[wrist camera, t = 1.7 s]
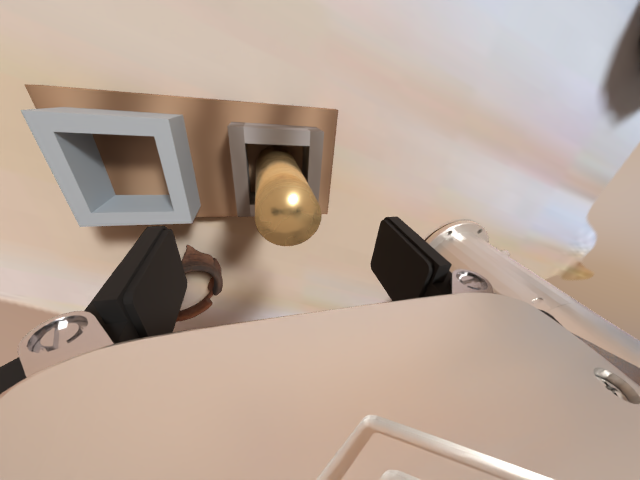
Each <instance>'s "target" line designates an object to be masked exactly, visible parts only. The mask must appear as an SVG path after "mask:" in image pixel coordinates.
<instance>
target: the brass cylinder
mask: <svg viewBox="0 0 640 480" xmlns="http://www.w3.org/2000/svg"><path fill="white" fill-rule="evenodd" d="M320 222H321V208H320V205H319V203H318V201H317V199H316V197H315V196H314V194H313V192H312V190H311V188H310V187H309V185H308V183H307V181H306V179H305V178H304V176H303V174H302V172H301V170H300V168H299V167H298V165H297V163H296V161H295V159H294V158H293V156H292V154H291V153H290V152H289V151H288V150H286V149H285V148H283V147H280V146H270V147H267V148H265V149H264V150H262V151H261V152H260V154H259V155H258V157H257V160H256V184H255V223H256V227H257V229H258V231H259V232H260V234H261V235H262V236H263V237H264V238H265V239H266V240H268V241H269V242H271V243H274V244H276V245H281V246H293V245H297V244H300V243H302V242H305V241H306V240H308V239H309V238H310V237H311V236H312V235H313V234H314V233H315V232H316V231H317V229H318V227H319V225H320Z"/></svg>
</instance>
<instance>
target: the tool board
mask: <svg viewBox="0 0 640 480" xmlns="http://www.w3.org/2000/svg"><path fill="white" fill-rule="evenodd" d="M25 86H26V89H27V91H28V93H29V95H30V97H31V99H32V101H33V103H34V105H35V107H36V109H42V108H56V107H72V108H87V109H102V110H118V111H133V112H148V113H163V114H178V115H183V118H184V123H185V128H186V133H187V138H188V143H189V148H190V153H191V158H192V163H193V168H194V173H195V178H196V183H197V189H198V194H199V199H200V204H201V206H200V208H199V210H198V212H197V214H196V216H195V217H220V216H238V217H247V216H255V184H256V160H257V157H258V155H259V154H260V152H261V151H262V150H264V149H265V148H267V147H270V146H280V147H283V148H285V149H286V150H288V151H289V152H290V153H291V154H292V156H293V158H294V159H295V161H296V163H297V165H298V167H299V168H300V170H301V172H302V174H303V176H304V178H305V179H306V181H307V183H308V185H309V187H310V188H311V190H312V192H313V194H314V196H315V197H316V199H317V201H318V203H319V205H320V208H321V214H327V213H328V203H329V194H330V184H331V174H332V165H333V155H334V145H335V136H336V126H337V116H338V110H336V109H327V108H315V107H302V106H290V105H278V104H266V103H253V102H241V101H229V100H217V99H204V98H192V97H180V96H168V95H155V94H143V93H131V92H119V91H106V90H94V89H82V88H70V87H57V86H45V85H25ZM92 135H93V138H94V140H95V143H96V146H97V148H98V151H99V153H100V156H101V158H102V161H103V164H104V166H105V169H106V171H107V174H108V176H109V179H110V182H111V184H112V187H113V189H114V192H115V194H116V195H170V194H169V190H168V187H167V183H166V179H165V175H164V172H163V168H162V164H161V160H160V156H159V153H158V149H157V145H156V141H155V138H154V136H135V135H113V134H92Z"/></svg>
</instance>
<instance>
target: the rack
mask: <svg viewBox="0 0 640 480" xmlns="http://www.w3.org/2000/svg"><path fill="white" fill-rule="evenodd" d="M21 112H22V114H23V116H24V118H25V120H26V122H27V124H28V126H29V128H30V130H31V132H32V134H33V136H34V138H35V140H36V142H37V144H38V146H39V148H40V150H41V151H42V153H43V155H44V157H45V159H46V161H47V163H48V165H49V167H50V169H51V171H52V173H53V175H54V177H55V179H56V181H57V183H58V185H59V187H60V189H61V191H62V193H63V195H64V197H65V199H66V201H67V203H68V204H69V206H70V208H71V210H72V212H73V214H74V216H75V218H76V220H77V222H78V224H79V226H80V227H86V226H120V225H153V224H186V223H193V220H194V218H195V216H196V214H197V212H198V210H199V208H200V206H201V204H200V199H199V194H198V189H197V183H196V178H195V173H194V168H193V163H192V158H191V153H190V148H189V143H188V138H187V133H186V128H185V123H184V118H183V115H178V114H163V113H148V112H133V111H118V110H102V109H87V108H72V107H56V108H42V109H29V110H21ZM92 134H113V135H135V136H154V138H155V141H156V145H157V149H158V153H159V156H160V160H161V164H162V168H163V172H164V175H165V179H166V183H167V187H168V190H169V194H170V195H116V194H115V192H114V189H113V187H112V184H111V182H110V179H109V176H108V174H107V171H106V169H105V166H104V164H103V161H102V158H101V156H100V153H99V151H98V148H97V146H96V143H95V140H94V138H93V135H92Z"/></svg>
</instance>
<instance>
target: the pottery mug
mask: <svg viewBox="0 0 640 480" xmlns="http://www.w3.org/2000/svg"><path fill="white" fill-rule="evenodd" d="M186 248H187V249H186V252H185V254H184V257H183V259H182V261H181V262H182V265H183V269H184V272H185V273H188V272H191V271H204V272H207V273H209V274H211V275H212V278H211V279H210V282H209V284H208V289H209V290H210V292H209V294H208V295H207V296H206V297H205V298H204V299H203V300H202V301H200V302H199V303H198V304H196V305H194V306H192V307H190V308H188V309H185V310H182V311H179V314H178V317H177V320H176V322H177V321H183V320H187V319H190V318H193V317H195V316H197V315H199V314H201V313H202V312H204V311H205V310H207V309H208V308H209V307H210V306H211V305H212V301H211V300H210V298H211V297H212V296H213V294H214V295H218V294H219V293H220V292H221V291H222V287H223V280H222V276H221V267H220V264H219V263H218V261H217V260H216V259H215V258H212V256H211V255H209V254H204V253H201V252H199V251H197V250H195V249H194V248H193V247H191V246H189V245H187V246H186Z"/></svg>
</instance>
